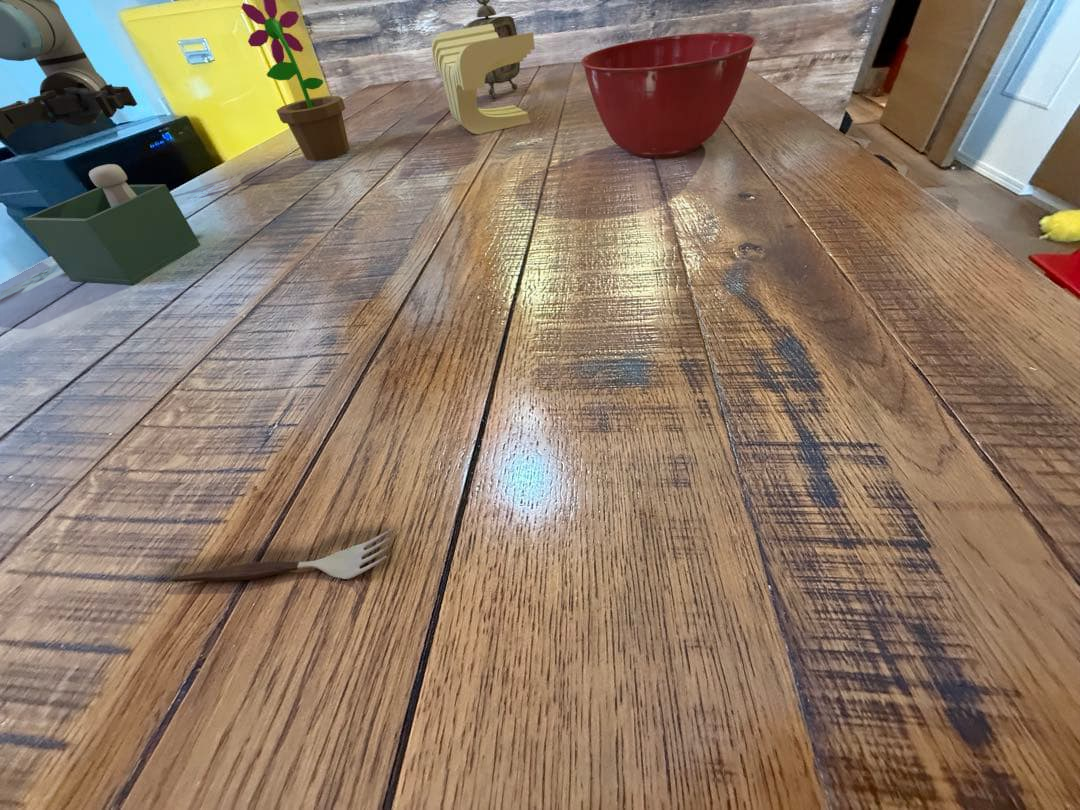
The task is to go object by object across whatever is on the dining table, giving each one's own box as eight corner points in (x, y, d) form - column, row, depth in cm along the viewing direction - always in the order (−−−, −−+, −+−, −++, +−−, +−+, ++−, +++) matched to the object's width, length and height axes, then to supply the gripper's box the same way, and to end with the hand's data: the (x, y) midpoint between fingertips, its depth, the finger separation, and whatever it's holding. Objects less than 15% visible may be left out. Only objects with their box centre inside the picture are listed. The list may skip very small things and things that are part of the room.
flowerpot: (339, 141, 127) (286, -14, 107) (369, 148, 119) (317, -19, 99) (286, 158, 120) (218, -3, 100) (314, 167, 112) (246, -7, 92)
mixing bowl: (574, 176, 89) (567, 72, 78) (596, 129, 109) (593, 41, 99) (746, 169, 82) (764, 54, 72) (736, 120, 102) (749, 25, 92)
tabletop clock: (496, 101, 140) (478, -15, 124) (470, 101, 144) (449, -12, 128) (523, 88, 149) (510, -22, 132) (498, 89, 153) (482, -19, 136)
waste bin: (71, 281, 79) (21, 219, 73) (142, 242, 88) (104, 184, 82) (132, 285, 75) (86, 220, 69) (200, 244, 85) (165, 184, 78)
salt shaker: (158, 259, 80) (102, 172, 71) (128, 260, 81) (69, 175, 72) (183, 242, 84) (133, 159, 75) (154, 243, 85) (101, 161, 76)
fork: (184, 566, 37) (168, 551, 36) (400, 542, 36) (392, 525, 35) (167, 600, 35) (148, 586, 34) (395, 575, 34) (385, 559, 33)
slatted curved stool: (445, 119, 132) (427, 35, 120) (503, 106, 135) (492, 23, 123) (474, 145, 110) (455, 46, 98) (542, 130, 113) (533, 32, 101)
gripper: (165, 106, 94) (160, 126, 79) (6, 138, 87) (-32, 167, 72) (139, 58, 89) (129, 69, 74) (-32, 88, 82) (-81, 107, 67)
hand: (50, 117), depth 73 cm, fingers open, 13 cm apart
